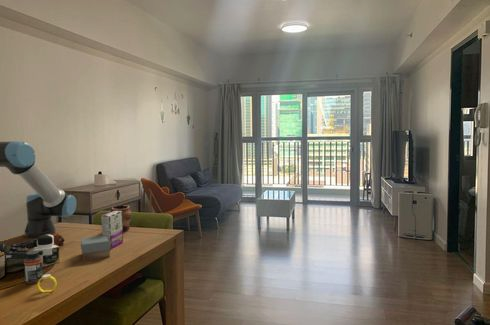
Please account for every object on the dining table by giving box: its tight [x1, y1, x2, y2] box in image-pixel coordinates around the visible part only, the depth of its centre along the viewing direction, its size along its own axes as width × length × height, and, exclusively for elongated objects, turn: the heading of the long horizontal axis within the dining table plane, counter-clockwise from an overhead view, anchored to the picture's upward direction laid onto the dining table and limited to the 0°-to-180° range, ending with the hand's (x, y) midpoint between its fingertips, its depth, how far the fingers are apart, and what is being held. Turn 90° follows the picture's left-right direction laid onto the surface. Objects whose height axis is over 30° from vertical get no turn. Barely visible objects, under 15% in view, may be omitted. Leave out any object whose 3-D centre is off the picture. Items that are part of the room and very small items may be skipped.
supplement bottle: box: [23, 250, 44, 285], centre depth 137 cm, size 6×6×11 cm
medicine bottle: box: [33, 235, 60, 268], centre depth 156 cm, size 7×7×12 cm
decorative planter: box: [109, 204, 132, 232], centre depth 207 cm, size 20×12×14 cm, turn 9°
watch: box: [36, 273, 58, 294], centre depth 128 cm, size 6×3×6 cm, turn 100°
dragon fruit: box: [48, 232, 65, 248], centre depth 175 cm, size 8×8×12 cm
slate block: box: [80, 235, 109, 255], centre depth 165 cm, size 11×11×4 cm
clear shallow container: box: [82, 249, 111, 262], centre depth 166 cm, size 11×11×4 cm
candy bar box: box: [100, 211, 124, 250], centre depth 180 cm, size 11×5×16 cm, turn 168°
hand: (53, 246), depth 157 cm, fingers open, 13 cm apart
